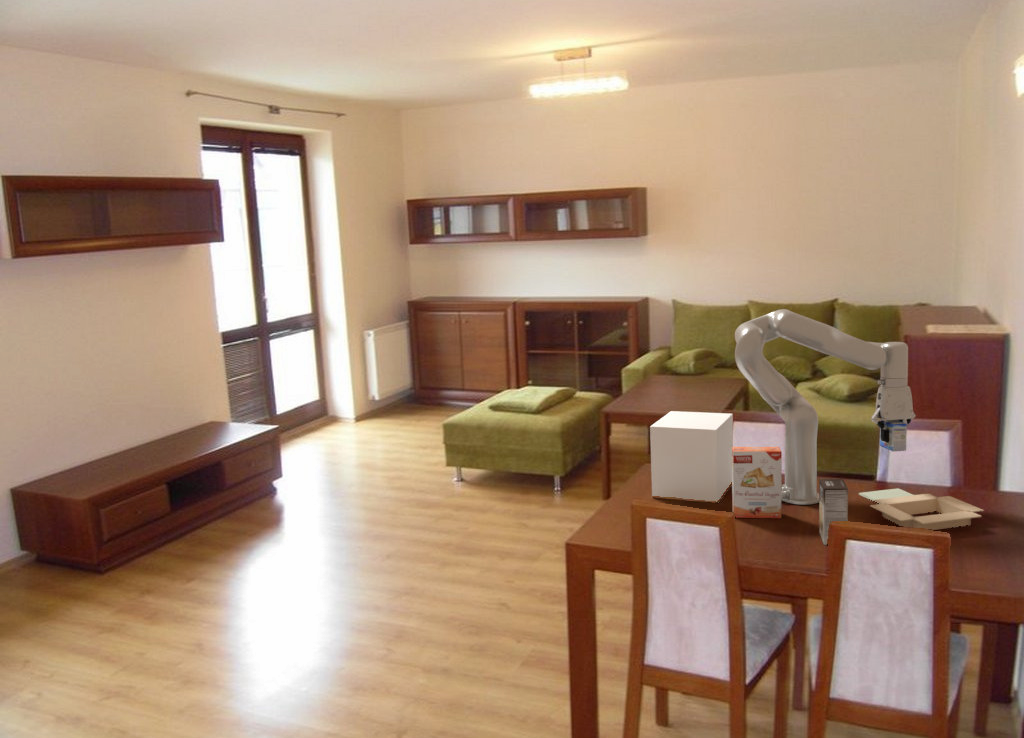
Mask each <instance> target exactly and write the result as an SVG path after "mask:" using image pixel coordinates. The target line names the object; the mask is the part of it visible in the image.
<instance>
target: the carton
mask: <svg viewBox="0 0 1024 738" xmlns="http://www.w3.org/2000/svg"><path fill="white" fill-rule="evenodd" d="M874 501H875V502H878V503H880V504H877V503H876V504H870V505H869V506H870V507H871V508H873V509H875V510H876V511H879V512H881V513H882V514H881V516H883V517H885V518H887V519H888V521H889V520H890V522H891V521H892V523H893V522H895V523H896V525H897V524H898V526H899V527H901V526H904V527H914V528H925V529H932V530H931V531H935V530H942V529H951V528H952V527H953V528H959V526H961V527H967V526H966V525H968V526H971V525H972V519H976V518H982V515H981V514H978V513H977V512H984V511H985V510H984V509H982V508H980V507H978V506H975V505H973V504H970V503H968V502H965V501H962V500H961V499H958V498H955V497H953V496H951V495H946V496H944V495H943V496H935V495H933V494H931V493H921V494H913V495H911V496H903V497H894V498H886V499H877V500H874ZM875 502H874V503H875ZM934 511H937V512H936V513H938V512H939V513H938V514H929V515H921V516H920V514H927V513H928V512H930V513H935V512H934ZM940 513H941V514H940ZM918 514H919V516H913V515H918ZM883 517H882V518H883ZM885 518H884V519H885ZM887 519H886V520H887ZM895 523H894V524H895Z"/></svg>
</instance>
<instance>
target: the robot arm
mask: <svg viewBox="0 0 1024 738" xmlns="http://www.w3.org/2000/svg"><path fill="white" fill-rule="evenodd" d="M778 338H782V339H784V340H788V341H789V342H793V343H796V344H798V345H800V346H804V347H807V348H808V349H811V350H814V351H816V352H819V353H822V354H824V355H829V356H832V357H835V358H838V359H840V360H843V361H846V362H848V363H850V364H854V365H856V366H858V367H861V368H864V369H866V370H870V371H871V370H872V371H875V370H879V369H880V378H879V379H878V380H877V385H880V386H879V387H878V389H877V393H876V401H875V412H874V413H873V414H872V416H871V417H870V421H872V422H873V423H875V424H876V426H878V428H879V429H880V428H881V435H880V434H879V438H880V437H881V441H884V442H889V430H888V429H887V428H888V425H889V421H893V420H898V421H901V422H903V423H906V424H907V428H908V427H909V426H908V425H909V424H910V423H911V422H912V421H913V420H914V419H915V418H916V416H917V415H916V414H915V412H914V408H913V396H912V390H911V387H910V386H909V385H908V382H909V381H908V377H909V375H908V374H909V371H908V370H909V368H908V367H909V346H908V344H907V343H906V342H903V341H886V342H877V341H876V342H873V341H865V340H863V339H861V338H857V337H855V336H853V335H851V334H848V333H845V332H843V331H842V330H840V329H837V328H836V327H834V326H831V325H829V324H827V323H824V322H821V321H818V320H815V319H814V318H813V319H812V318H810V317H808V316H805V315H802V314H800V313H799V314H798V313H796V312H793V311H791V310H789V309H787V308H782V309H777V310H775V311H774V310H773V311H772V312H769V313H767V314H764V315H761V316H759V317H756V318H753V319H751V320H748V321H745V322H743V323H741V324H740V325H739V326H738V327H737V328H736V329H735V332H734V340H735V342H736V345H735V350H734V360H735V364H736V366H737V368H738V370H739V372H740V373H741V375H743V377H744V378H745V379H746V380H747V381H748V382H749V383H750V385H751V386H752V387H753V388H754V389H755V390H756V391H757V392H758V394H759V395H760V397H761V398H762V400H764V401H765V402H766V403H767V405H769V406H770V407H771V408H772V409H773V410H774V411H775V412H776V413H777V414H778V416H780V418H781V419H782V420H783V421H784V423H785V430H784V483H783V484H782V483H781V502H785V503H788V504H790V505H791V504H792V505H801V506H802V505H809V506H810V505H815V504H818V503H819V492H818V491H817V486H818V484H817V481H818V479H817V477H818V476H817V475H818V474H817V472H818V471H817V470H818V469H817V467H818V466H817V463H818V462H817V459H818V458H817V457H818V456H817V451H818V450H817V449H818V448H817V442H818V441H817V438H818V429H819V428H818V427H819V417H818V413H817V410H816V408H815V407H814V406H813V405H812V404H811V403H810V402H809V401H808V400H807V399H806V398H805V397H804V396H803V395H802V394H801V393H800V392H799V391H798V390H797V389H796V388H795V387H794V386H793V385H792V384H791V382H790V381H789V380H788V379H787V378H786V377H785V376H784V375H783V374H781V373H780V372H779V371H778V370H777V369H776V368H775V367H774V366H773V365H772V363H770V362H769V361H768V359H767V358H766V357H765V355H764V350H763V349H764V346H765V344H766V343H768V342H770V341H773V340H775V339H778Z"/></svg>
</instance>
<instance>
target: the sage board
mask: <svg viewBox="0 0 1024 738" xmlns="http://www.w3.org/2000/svg"><path fill="white" fill-rule="evenodd" d="M911 495H914V494H912V493H910V492H908V491H905V490H903V489H901V488H890V489H882V490H881V489H879V490H873V491H863V492H859V493H858V496H861V497H863V498H866V499H867V500H869V499H870V500H869V501H871V500H872V501H871V502H873V501H874V500H877V499H886V498H894V497H903V496H911ZM877 503H878V502H877ZM877 503H876V504H877ZM879 504H880V503H879Z"/></svg>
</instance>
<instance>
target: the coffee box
mask: <svg viewBox="0 0 1024 738" xmlns="http://www.w3.org/2000/svg"><path fill="white" fill-rule="evenodd" d="M818 485H819V486H818V487H819V489H818V493H819V506H818V508H819V511H818V513H819V514H818V515H819V517H818V525H819V526H818V529H819V530H818V531H819V535H820V539H821V541H822V543H823V545H824V546H828V545H827V539H828V529H829V524H830V522H832V521H848V519H849V518H848V516H849V515H848V514H849V513H848V512H849V511H848V510H849V488H848V486H847V484H846V482H845V481H844V479H843V478H819V481H818Z"/></svg>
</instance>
